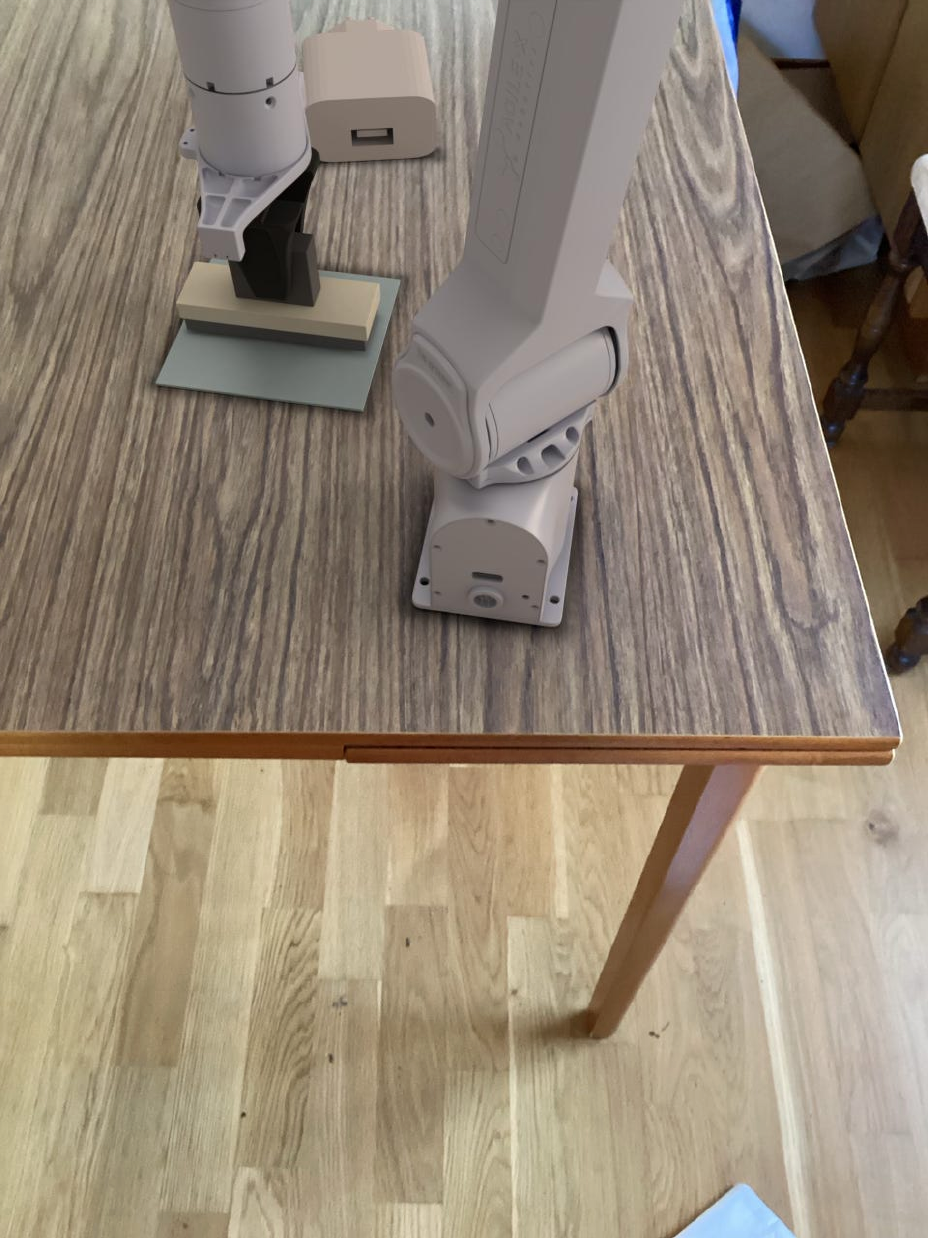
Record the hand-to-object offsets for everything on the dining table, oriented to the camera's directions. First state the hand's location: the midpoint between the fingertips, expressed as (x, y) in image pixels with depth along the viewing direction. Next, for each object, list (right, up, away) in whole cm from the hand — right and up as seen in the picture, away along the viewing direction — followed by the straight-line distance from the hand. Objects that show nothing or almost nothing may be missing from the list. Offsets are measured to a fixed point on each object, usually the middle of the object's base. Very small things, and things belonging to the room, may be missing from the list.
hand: (277, 281), depth 63 cm
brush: (0, -2, +3) cm, 3 cm away
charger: (+4, +19, +17) cm, 26 cm away
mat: (0, -2, +3) cm, 4 cm away
